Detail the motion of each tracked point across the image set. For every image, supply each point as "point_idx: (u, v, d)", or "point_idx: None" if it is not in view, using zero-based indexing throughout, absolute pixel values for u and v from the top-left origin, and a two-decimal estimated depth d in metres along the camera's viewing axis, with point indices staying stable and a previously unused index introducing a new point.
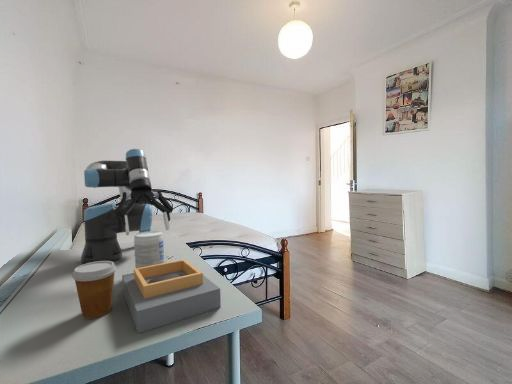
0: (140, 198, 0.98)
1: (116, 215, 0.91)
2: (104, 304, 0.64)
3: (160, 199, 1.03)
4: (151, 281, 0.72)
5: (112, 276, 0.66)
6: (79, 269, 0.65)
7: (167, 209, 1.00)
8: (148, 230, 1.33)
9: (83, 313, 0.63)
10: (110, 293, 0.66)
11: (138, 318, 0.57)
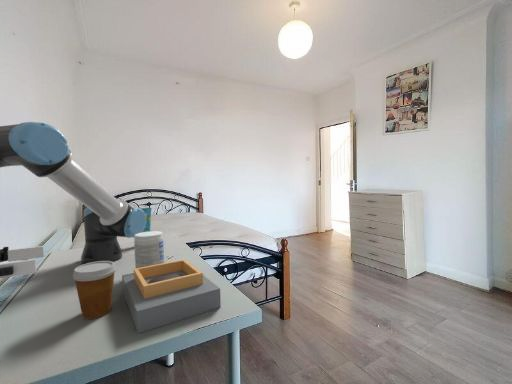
0: None
1: None
2: (104, 304, 0.64)
3: None
4: (151, 281, 0.72)
5: (112, 276, 0.66)
6: (79, 269, 0.65)
7: None
8: (148, 230, 1.33)
9: (83, 313, 0.63)
10: (110, 293, 0.66)
11: (138, 318, 0.57)
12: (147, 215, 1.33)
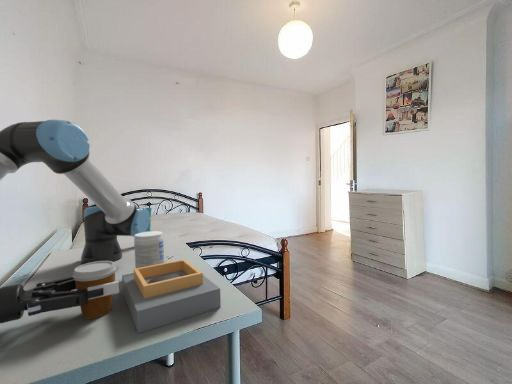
0: None
1: None
2: (104, 304, 0.64)
3: None
4: (151, 281, 0.72)
5: (112, 276, 0.66)
6: (79, 269, 0.65)
7: None
8: (148, 230, 1.33)
9: (83, 313, 0.63)
10: None
11: (138, 318, 0.57)
12: None
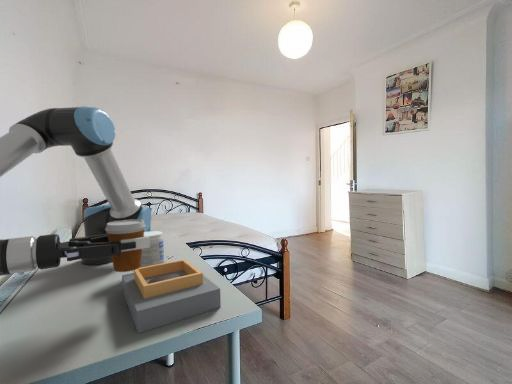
0: None
1: None
2: (135, 258, 0.66)
3: None
4: (151, 281, 0.72)
5: (142, 232, 0.67)
6: (111, 224, 0.66)
7: None
8: (148, 230, 1.33)
9: (115, 266, 0.65)
10: (140, 249, 0.67)
11: (138, 318, 0.57)
12: None
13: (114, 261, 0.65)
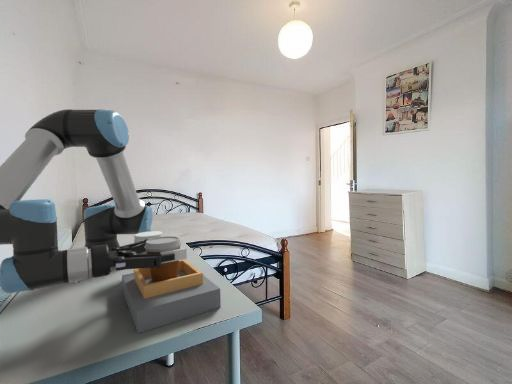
0: None
1: None
2: (173, 274, 0.69)
3: None
4: (151, 281, 0.72)
5: None
6: (149, 242, 0.69)
7: None
8: None
9: None
10: (177, 265, 0.70)
11: (138, 318, 0.57)
12: None
13: (153, 277, 0.68)
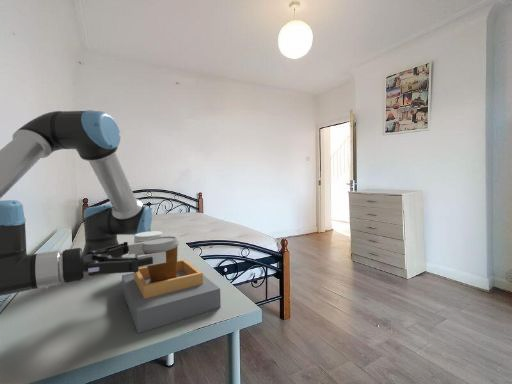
0: None
1: None
2: (170, 275, 0.68)
3: None
4: None
5: (176, 249, 0.69)
6: (147, 242, 0.69)
7: None
8: (148, 230, 1.33)
9: None
10: (175, 265, 0.69)
11: (138, 318, 0.57)
12: None
13: (151, 278, 0.68)
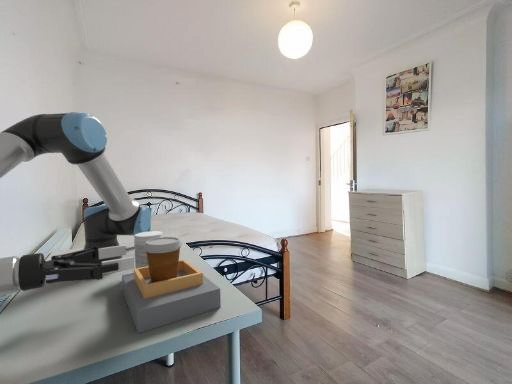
0: None
1: None
2: (170, 276, 0.68)
3: None
4: None
5: (178, 251, 0.69)
6: (150, 242, 0.69)
7: None
8: (148, 230, 1.33)
9: None
10: (176, 267, 0.69)
11: (138, 318, 0.57)
12: None
13: (151, 278, 0.67)
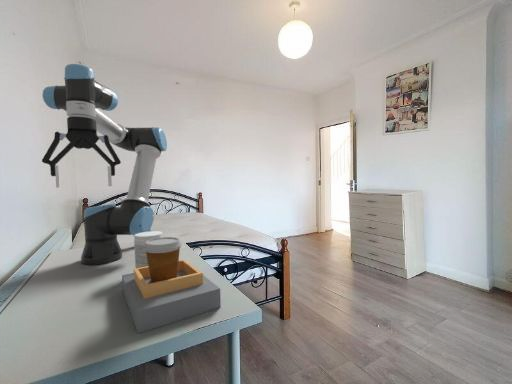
0: (78, 143, 0.79)
1: (44, 162, 0.75)
2: (170, 276, 0.68)
3: (106, 146, 0.84)
4: None
5: (178, 251, 0.69)
6: (149, 242, 0.69)
7: (112, 162, 0.85)
8: None
9: None
10: (176, 267, 0.69)
11: (138, 318, 0.57)
12: None
13: (151, 278, 0.67)
